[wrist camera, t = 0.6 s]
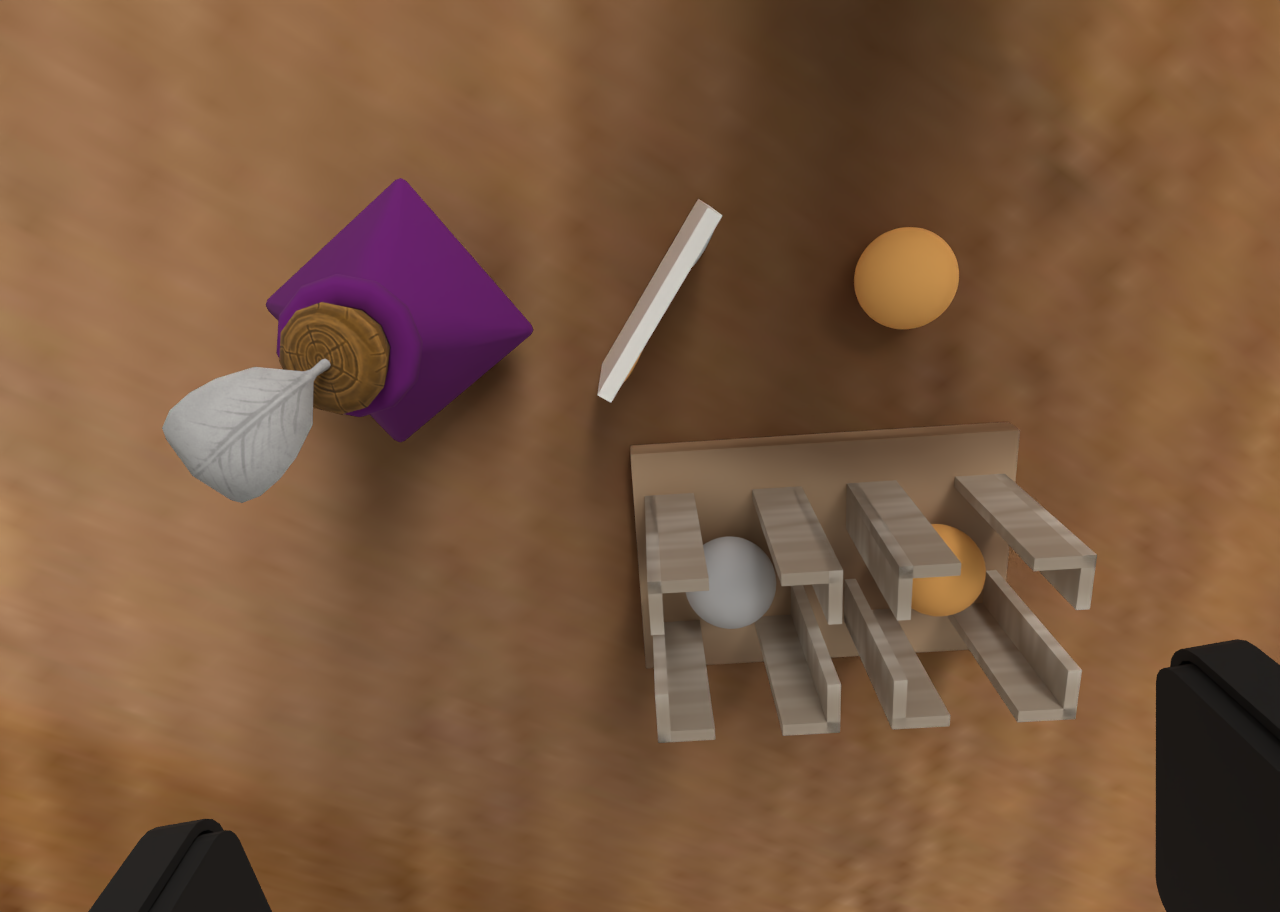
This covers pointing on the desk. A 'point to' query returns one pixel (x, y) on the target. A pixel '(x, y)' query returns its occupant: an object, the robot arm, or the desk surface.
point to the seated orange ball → (951, 578)
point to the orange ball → (906, 278)
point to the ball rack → (851, 571)
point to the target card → (657, 298)
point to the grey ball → (735, 584)
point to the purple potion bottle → (353, 346)
